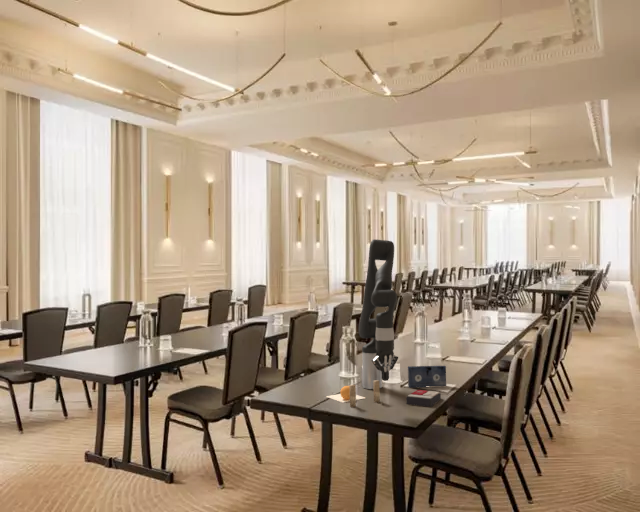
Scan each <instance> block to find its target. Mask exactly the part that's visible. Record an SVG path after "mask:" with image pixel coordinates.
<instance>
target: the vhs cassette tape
mask: <svg viewBox="0 0 640 512" xmlns="http://www.w3.org/2000/svg"><path fill="white" fill-rule="evenodd" d="M426 386H446V387H447V367H446V365H420V366H412V365H411V366H407V387H408V388H409V389H410V388H411V389H413V388H416V389H417V387H419V388H427V387H426Z"/></svg>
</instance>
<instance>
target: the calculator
mask: <svg viewBox="0 0 640 512" xmlns="http://www.w3.org/2000/svg"><path fill="white" fill-rule="evenodd" d="M441 395H442V394H441V392H440V391H434V390H433V391H432V390H423V389H422V390H421V389H417V390H415V391H413V392H412V393H410V394H408V395H407V396H406V401H405V402H406V403H405V404H406V405H408V406H409V405H410V406H419V407H426V408H427V407H428V408H432V407H433V406H434V405H435V404H437V402H439V401H440V400H441V399H442V397H441Z"/></svg>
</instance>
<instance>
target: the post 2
mask: <svg viewBox="0 0 640 512" xmlns="http://www.w3.org/2000/svg"><path fill="white" fill-rule="evenodd" d="M373 385H374V389H373V402H374V403H380V402H381V400H380V396H381V395H380V394H381V393H380V390H381V388H380V387H379V381H378V380H375V381H373Z"/></svg>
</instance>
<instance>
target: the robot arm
mask: <svg viewBox="0 0 640 512" xmlns="http://www.w3.org/2000/svg"><path fill="white" fill-rule="evenodd" d="M368 249H369V250H368V264H367V272H366V279H365V284H364V292H363V302H362V308H361V312H360V313H361V314H360V317H359V321H358V322H359V323H358V335H359V337H360V338H362V339H372V340H370V342H368V343H365V344H364V345H362V347H361V354H362V355H361V358H362V360H361V361H362V365H361V367H360V368H361V371H360V373H361V387H362V388H363V389H365V390H366V389H367V390H374V385H373V381H375V380H378V381H379V387H380V389H382V388H383V386H382V385H383V383H382V382H383V381H384V382H386V381H389V379H390V370H393V369H394V367H395V365H396V363H397V362H398V360H399V356H396V355H395V352H394V349H395V332H394V331H395V330H394V314H395V308H396V305H397V302H398V293H397V292H396V291H395V290H393V268H394V267H393V266H394V259H395V244H394V242H393V241H392V240H386V239H377V238H376V239H372V240H371V241H370V244H369V248H368ZM376 261H385V262H384V263H383V264H381V266H380V267H379V268H378V267H377V264H376ZM377 308H388V309H387V310H386V311H383V312H378V313H377V314H376V315H375V318H371V316H372V314H373V312H374V311H375V310H376V309H377Z"/></svg>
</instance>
